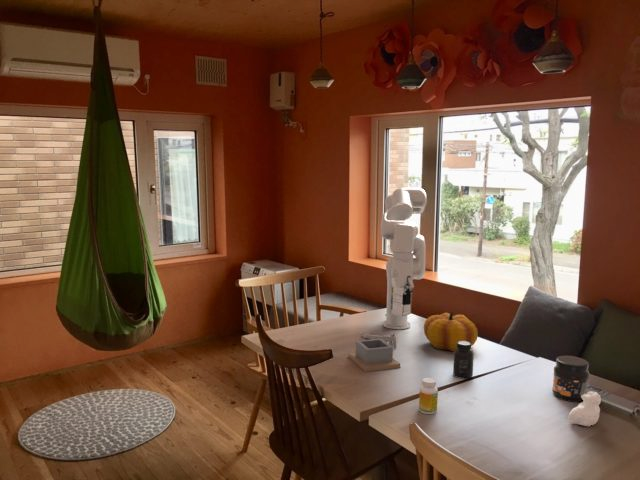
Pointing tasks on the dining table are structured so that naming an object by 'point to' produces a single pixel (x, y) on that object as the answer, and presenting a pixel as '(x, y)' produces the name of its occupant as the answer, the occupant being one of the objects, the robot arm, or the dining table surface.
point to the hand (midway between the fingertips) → (401, 301)
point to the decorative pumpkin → (449, 330)
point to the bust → (586, 410)
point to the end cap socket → (374, 355)
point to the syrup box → (398, 300)
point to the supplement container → (570, 378)
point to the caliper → (383, 338)
